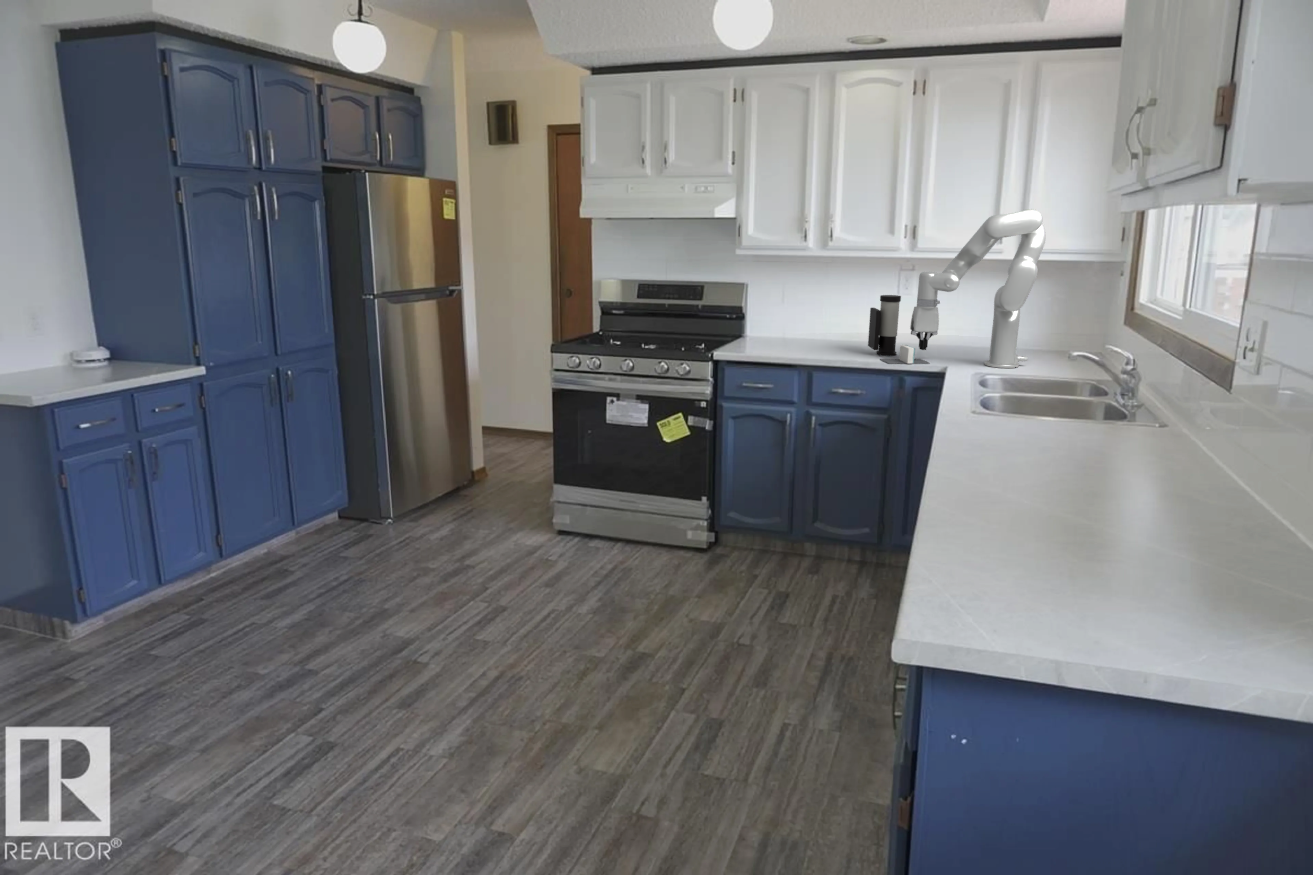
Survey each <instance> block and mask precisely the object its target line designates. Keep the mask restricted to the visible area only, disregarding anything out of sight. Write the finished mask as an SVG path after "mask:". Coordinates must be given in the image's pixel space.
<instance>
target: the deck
mask: <svg viewBox="0 0 1313 875" xmlns="http://www.w3.org/2000/svg"><path fill="white" fill-rule="evenodd" d="M915 353H916V348H915V347H912V346H910V345H907V344H900V348H899V358H898V359H899V360H901V361H903V362H905V363H914V359H915Z"/></svg>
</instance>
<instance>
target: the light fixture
mask: <svg viewBox="0 0 1313 875" xmlns="http://www.w3.org/2000/svg"><path fill="white" fill-rule="evenodd" d="M879 297H880V298H879V300H880V309H878V308H876V307H870V310H869V324H868V325H869V326H868V338H867V339H868V342H867V347H869V348H871V349H872V350H874V351H876V355H877V356H883V357H884V356H885V357H893V356H897V351H896V346H897V345H896V344H897V336H898V327H899V326H898V325H899V316H900V315H899V313H900V302H901V301H902V296H901V295H897V294H893V295H892V294H883V295H879Z"/></svg>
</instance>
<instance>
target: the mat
mask: <svg viewBox="0 0 1313 875" xmlns="http://www.w3.org/2000/svg"><path fill="white" fill-rule="evenodd" d="M899 359H900V358H879V361H881V362H883V363H885V364H887V365H906V364H908V365H911V364H912V365H916V364H919V365H923V364H925V365H926V364H930V361H927V360H925V359H922V358H914V363H905V362H903V361H901V360H899Z"/></svg>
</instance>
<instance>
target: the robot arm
mask: <svg viewBox="0 0 1313 875" xmlns="http://www.w3.org/2000/svg"><path fill="white" fill-rule="evenodd" d="M1044 225H1045V224H1044V222H1043V216H1042V214H1041V212H1040V211H1039V210H1036V209H1034V208H1031V209H1029V208H1028V209H1023V210H1021V211H1015V212H1011V213H1006V214H996V215H991V216H989V217H988V218H987V219H986V220H985V221H983V223H982V224H981V226H980V227H979V228H978V229H977V230H976V232H975V233H974V234H973V235H972V236H971V237H970V239H969V240H968V241H967V242H966V243H965V244H964V246H963V247H962V248H961V250H960V251H959V252H958V253H957V255H956V256H954V258H953V259H952V260H951V261H950V262H949V264H948V265H947V266H946V267H945V268H944V270H943V271H942V272H940V273H938V272H936V271H922V272H920V273H919V276H918V287H917V296H916V298H917V299H916V306H914V307H913V310H912V315H911V320H910V326H909V327H910V328H909V329H910V330H911V331H910V335H913V336H916V337H917V339H918V348H919V350H921V351H927V348H928V342H929V340H930V338H931V337H934V336H936V335H938V330H939V322H940V318H939V316H940V313H939V307H938V305H940V304H941V301H940V300H938V292H939V291H941V292H947V293H951V292H954V291H956V290H957V289H958V288H959V287H960V281H961V279H963V278H964V276H965V275H966V274H967V272H969V270H970V269H972V267H974V266H975V265H976V264H978V263H980V262H981V261H983V259H984V258H985V256H987V254H988V253H989V252H990V251H991V249H992V248H993V247H994V246H995V245H996V244H997V242H998V241H999V240H1000V239H1002V238H1003V239H1004V238H1009V237H1015V236H1020V237H1021V238H1020V242H1019V244H1018V247H1017V250H1016V252H1015V254H1014V256H1013V259H1012V260H1011V262H1010V264H1009V266H1008V270H1007V273H1008V274H1007V275H1008V277H1007V279H1006V281H1005V283H1004V284H1003V285H1002V286H1000V287H999V288H998V289H997V290H996V292H995V294H994V302H993V318H992V327H991V339H990V345H989V346H990V348H989V358H988V360H985V361H984V365H985V366H988V367H991V368H992V367H993V368H1000V369H1014V368H1015V367H1016V368H1018V367H1019V365H1020V364H1019V363H1020V362H1027V361H1028V356H1026V355H1025V356H1023V355H1022V356H1020V355H1018V354H1017V344H1018V337H1019V326H1020V319H1021V316H1020V315H1021V308H1023V307H1024V305H1025V304H1026V301H1027V299H1028V297H1029V295H1030V293H1031V291H1032V288H1033V287H1034V284H1035V282H1036V280H1037V278H1038V272H1039V270H1038V265H1037V264H1038V261H1039V259H1040V257H1041V254H1042V253H1043V249H1044V247H1045V243H1046V229H1045V226H1044Z"/></svg>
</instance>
